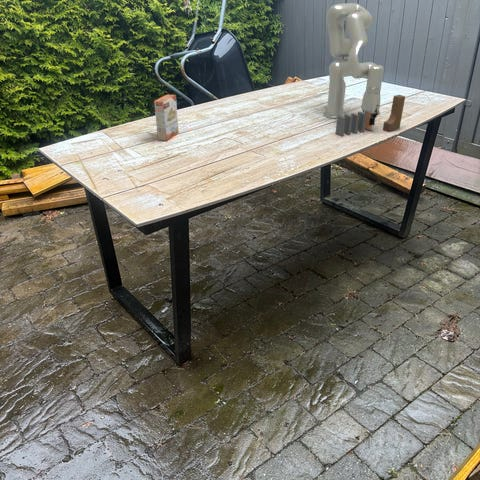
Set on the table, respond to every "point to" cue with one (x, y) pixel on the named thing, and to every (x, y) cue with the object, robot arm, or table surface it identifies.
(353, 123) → the domino
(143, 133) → the table surface
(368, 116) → the domino
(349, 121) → the domino
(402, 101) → the wooden block
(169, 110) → the cracker box
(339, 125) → the domino
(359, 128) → the domino
